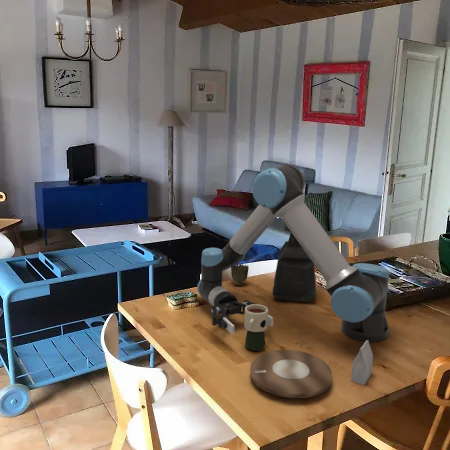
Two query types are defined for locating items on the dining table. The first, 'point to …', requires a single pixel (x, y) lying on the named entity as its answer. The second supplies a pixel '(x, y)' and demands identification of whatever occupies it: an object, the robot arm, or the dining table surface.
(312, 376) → the turntable
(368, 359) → the grey gabled block
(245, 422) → the dining table surface
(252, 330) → the character mug
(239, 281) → the cup
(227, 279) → the dining table surface
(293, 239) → the dark grey tapered pedestal
